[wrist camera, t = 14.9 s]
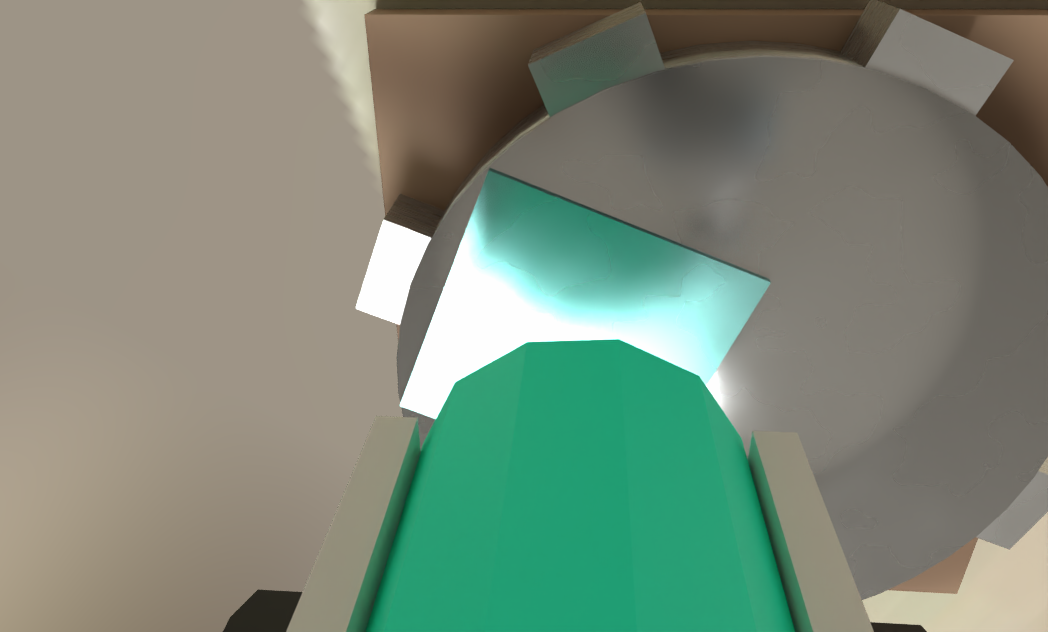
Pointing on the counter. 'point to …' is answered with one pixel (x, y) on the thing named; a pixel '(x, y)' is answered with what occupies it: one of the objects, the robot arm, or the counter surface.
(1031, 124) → the base board
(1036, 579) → the counter surface
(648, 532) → the candle
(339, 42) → the counter surface
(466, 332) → the turntable
